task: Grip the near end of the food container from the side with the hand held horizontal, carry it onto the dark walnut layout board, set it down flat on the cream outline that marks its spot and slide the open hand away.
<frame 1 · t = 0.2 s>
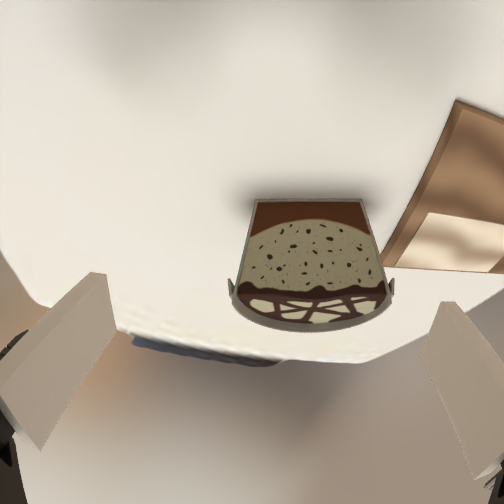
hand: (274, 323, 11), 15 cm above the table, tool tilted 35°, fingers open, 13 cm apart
layout board: (495, 210, 24), on the table
food container: (308, 220, 29), on the table
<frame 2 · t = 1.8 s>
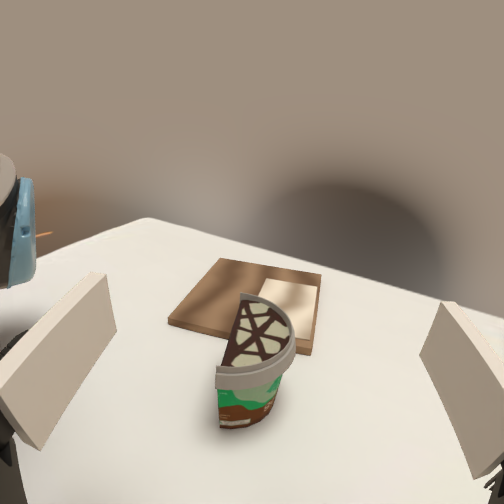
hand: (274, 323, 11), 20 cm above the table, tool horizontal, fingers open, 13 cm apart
layout board: (255, 300, 49), on the table
food container: (256, 400, 30), on the table
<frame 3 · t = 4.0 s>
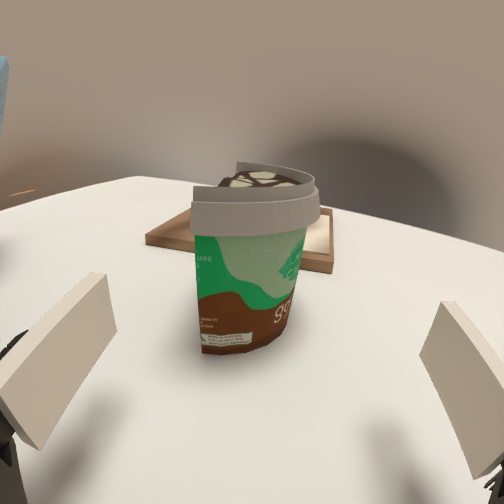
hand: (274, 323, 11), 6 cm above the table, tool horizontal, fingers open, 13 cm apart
layout board: (256, 226, 40), on the table
food container: (260, 319, 22), on the table
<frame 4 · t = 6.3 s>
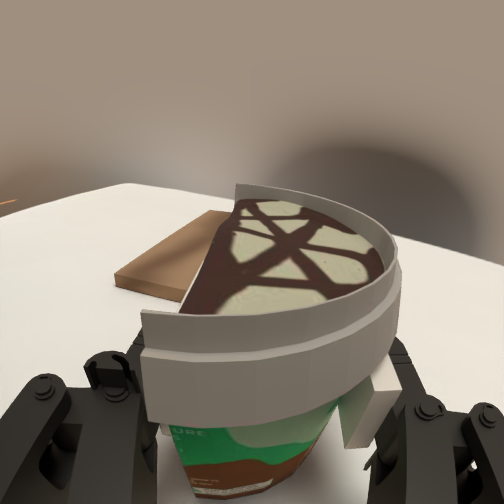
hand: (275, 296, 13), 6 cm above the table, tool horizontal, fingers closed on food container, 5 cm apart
layout board: (259, 256, 32), on the table
food container: (276, 424, 13), on the table, touching gripper
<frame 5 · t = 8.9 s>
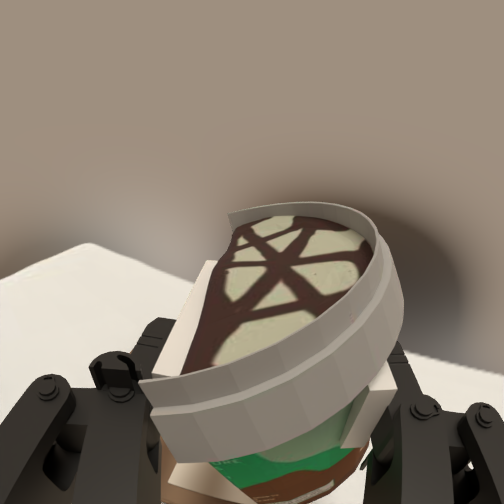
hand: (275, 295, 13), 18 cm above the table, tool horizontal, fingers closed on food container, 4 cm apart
layout board: (201, 408, 26), on the table
food container: (333, 425, 13), point 12 cm above the table, touching gripper
when the fingers open (9 cm above the table, at t = 10.8 s): food container drops 1 cm, resting on layout board.
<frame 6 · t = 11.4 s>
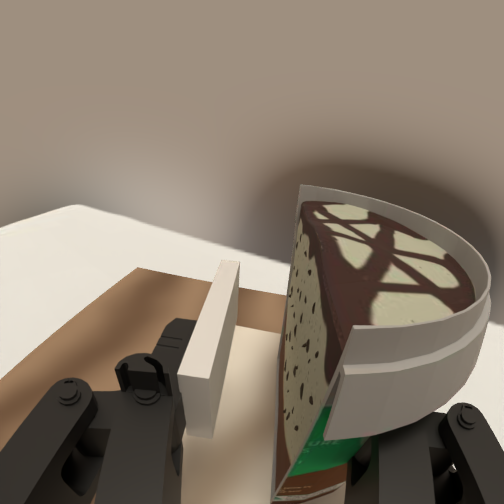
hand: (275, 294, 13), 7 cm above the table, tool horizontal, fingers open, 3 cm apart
layout board: (183, 388, 16), on the table
food container: (335, 425, 13), point 1 cm above the table, touching layout board
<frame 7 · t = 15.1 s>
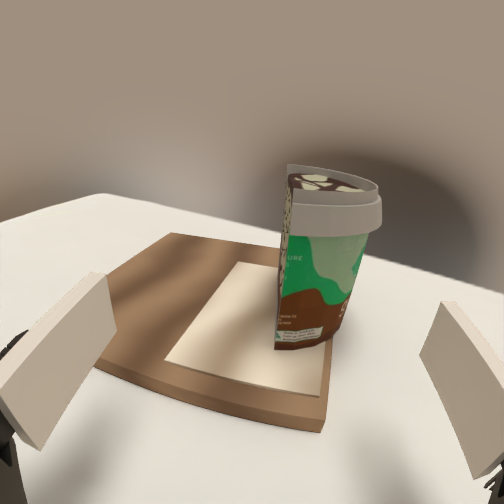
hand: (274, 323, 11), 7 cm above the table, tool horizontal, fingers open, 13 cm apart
layout board: (213, 300, 26), on the table
food container: (315, 315, 22), point 1 cm above the table, touching layout board
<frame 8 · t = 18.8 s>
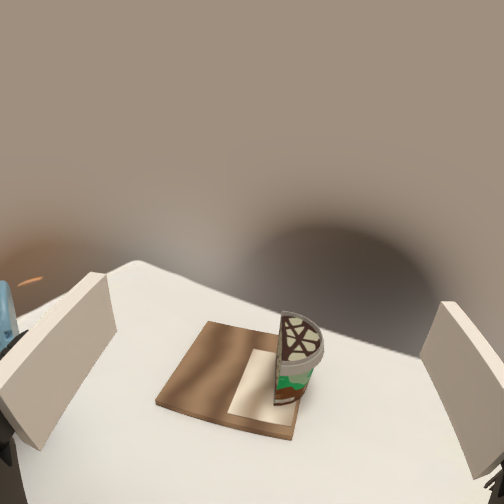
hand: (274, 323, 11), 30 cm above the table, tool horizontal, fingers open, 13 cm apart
layout board: (241, 374, 47), on the table
food container: (293, 385, 44), point 1 cm above the table, touching layout board
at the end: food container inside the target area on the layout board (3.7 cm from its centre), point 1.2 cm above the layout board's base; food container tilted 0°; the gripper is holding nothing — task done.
